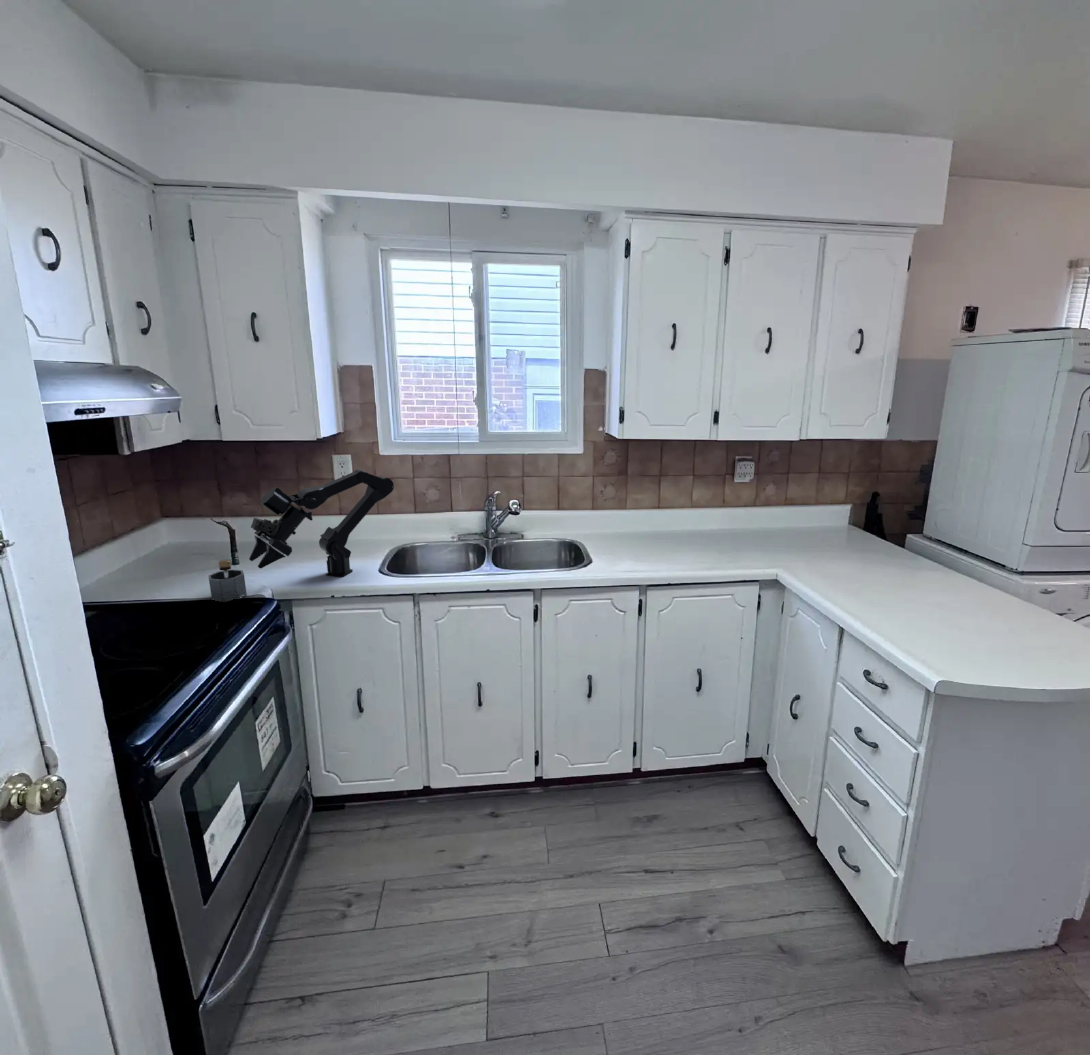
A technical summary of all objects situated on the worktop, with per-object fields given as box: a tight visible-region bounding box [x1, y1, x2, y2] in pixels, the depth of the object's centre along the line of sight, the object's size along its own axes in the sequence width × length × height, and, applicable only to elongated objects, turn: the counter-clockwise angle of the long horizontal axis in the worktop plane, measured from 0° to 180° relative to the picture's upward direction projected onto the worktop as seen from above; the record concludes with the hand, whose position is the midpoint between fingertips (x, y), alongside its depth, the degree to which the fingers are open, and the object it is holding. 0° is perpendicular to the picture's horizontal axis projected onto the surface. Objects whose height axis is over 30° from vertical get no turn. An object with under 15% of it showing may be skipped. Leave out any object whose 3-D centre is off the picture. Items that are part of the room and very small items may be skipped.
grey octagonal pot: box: [208, 569, 247, 604], centre depth 166 cm, size 9×9×7 cm
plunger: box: [217, 559, 232, 579], centre depth 165 cm, size 7×7×10 cm
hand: (254, 563), depth 170 cm, fingers open, 9 cm apart
